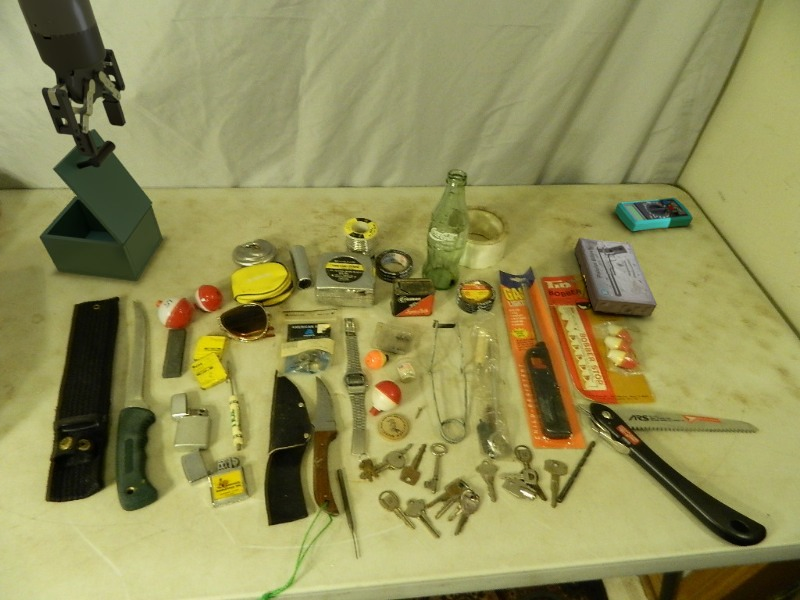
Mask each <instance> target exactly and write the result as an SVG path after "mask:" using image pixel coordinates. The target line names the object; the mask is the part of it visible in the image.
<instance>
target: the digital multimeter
mask: <svg viewBox="0 0 800 600" xmlns="http://www.w3.org/2000/svg"><path fill="white" fill-rule="evenodd" d="M614 212H615V214H616V215H617V216H618V218H619V219H620V221H621V222H622V223H623V224H624V225H625V226H626V228H628V230H630V232H636V231H637V232H638V231H645V230H656V229H664V228H665V229H666V228H674V227H685V226H689V225H690V224H691V222H692V221H693V219H694V217H693V216H692V214H691V212H690V211H689V210H688V208H687V207H686V206H685V204H683V203H682V202H681V201H679V199H677V198H675V197H667V198H658V199H648V200H647V199H646V200H638V201H637V200H636V201H622V202H618V203H617V204H616V206H615V208H614Z"/></svg>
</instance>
